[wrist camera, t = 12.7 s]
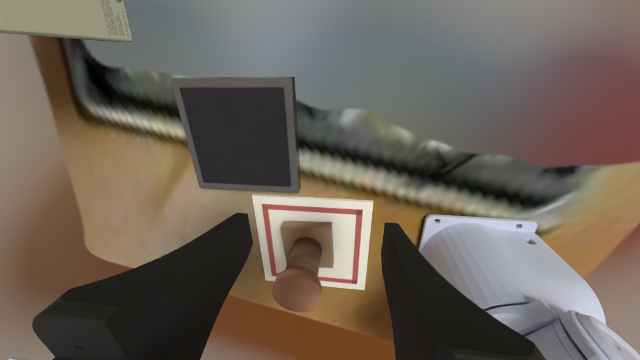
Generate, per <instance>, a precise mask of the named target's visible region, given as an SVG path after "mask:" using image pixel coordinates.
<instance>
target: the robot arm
mask: <svg viewBox="0 0 640 360" xmlns="http://www.w3.org/2000/svg"><path fill="white" fill-rule="evenodd" d="M436 219H439V220H438V221H435V220H436ZM518 224H519V225H518ZM516 225H518V226H516ZM536 228H537V224H536V223H535V222H534V221H532V220H519V219H502V218H485V217H468V216H451V215H434V214H430V215H427V216H426V218H425V222H424V226H423V231H422V235H421V240H420V245H419V249H417V248H416V247H415V246H414V244H413V243H412V242H411V240H410V239H409V238H408V236H407V235H406V234H405V232H404V231H403V230H402V228H401V227H400V225H399V224H398V223H385V227H384V235H383V242H382V250H381V261H382V273H383V278H384V283H385V288H386V294H387V299H388V304H389V309H390V314H391V319H392V326H393V335H394V345H395V356H396V360H640V355H639V354H638V353H637V352H636V351H635V350H634V349H633V348H632V347H631V346H629V345H628V344H627V343H626V342H625V341H624V340H623V339H621V338H620V337H619V336H618V335H617V334H616V333H614V332H613V331H612V330H611V329H610V328H608V327H607V326H606V321H605V316H604V312H603V310H602V307H601V305H600V303H599V300H598V298H597V297H596V295H595V293H594V292H593V290H592V289H591V288H590V286H589V285H588V284H587V283H586V282H585V281H584V280H583V279H582V278H581V277H580V276H579V275H578V274H577V273H576V272H575V271H574V270H573V269H572V268H571V267H570V266H569V265H568V264H567V263H566V262H565V261H564V260H563V259H561V258H560V257H559V256H558V255H557V254H556V253H555V252H554V251H553V250H552V249H551V248H550V247H549V246H548V245H547V244H546V243H545V242H544V241H543V240H542V239H541V238H540V237H538V236H537V235H536V234H535V231H536ZM252 245H253V241H252V236H251V230H250V224H249V219H248V214H245V213H236V214H234V215H232V216H231V217H229V218H228V219H226V220H224V221H223V222H221V223H220V224H218V225H217V226H215V227H214V228H212V229H211V230H209V231H207V232H206V233H204V234H203V235H201V236H199V237H198V238H196V239H194V240H192V241H191V242H189V243H187V244H186V245H184V246H182V247H180V248H178V249H176V250H174V251H172V252H170V253H168V254H166V255H164V256H162V257H160V258H158V259H155V260H153V261H151V262H148V263H146V264H144V265H141V266H139V267H137V268H134V269H131V270H129V271H126V272H123V273H121V274H118V275H115V276H112V277H109V278H106V279H103V280H100V281H96V282H93V283H90V284H86V285H83V286H79V287H76V288H72V289H69V290H68V291H67V292H65V293H64V294H63V295H62V296H61V297H59V298H58V299H57V300H56V301H54V302H53V303H52V304H51V305H49V306H48V307H47V308H46V309H44V310H43V311H42V312H41V313H39V314H38V315H37V316H36V317H35V318H34V319H33V324H32V327H33V330H34V332H35V333H36V334H37V336H38V337H39V339H40V340H41V341H42V342H43V343H44V344H45V345H46V346H47V348H48V349H49V350H50V351H51V352H52V353H53V355H54V356H55V358H54V359H53V360H200V359H201V356H202V353H203V350H204V348H205V345H206V343H207V340H208V338H209V335H210V333H211V330H212V328H213V325H214V323H215V321H216V318H217V316H218V314H219V311H220V309H221V307H222V305H223V303H224V301H225V299H226V297H227V295H228V293H229V291H230V290H231V288H232V286H233V284H234V282H235V281H236V279H237V277H238V275H239V273H240V272H241V270H242V268H243V266H244V264H245V262H246V260H247V258H248V255H249V253H250V250H251V247H252ZM9 360H25V359H19V358H11V359H9Z"/></svg>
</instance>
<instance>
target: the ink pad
mask: <svg viewBox="0 0 640 360" xmlns="http://www.w3.org/2000/svg"><path fill="white" fill-rule="evenodd" d="M171 82H172V86H173V89H174V93H175V97H176V101H177V104H178V108H179V112H180V116H181V119H182V123H183V127H184V131H185V134H186V138H187V142H188V146H189V149H190V153H191V157H192V161H193V164H194V168H195V172H196V176H197V179H198V183H199V187H200V188H214V189H233V190H252V191H271V192H291V193H299V191H300V189H301V182H300V165H299V147H298V129H297V111H296V93H295V77H206V78H203V77H201V78H171Z"/></svg>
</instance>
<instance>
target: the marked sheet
mask: <svg viewBox="0 0 640 360" xmlns="http://www.w3.org/2000/svg"><path fill="white" fill-rule="evenodd" d="M252 198H253V204H254V211H255V217H256V223H257V229H258V236H259V242H260V248H261V254H262V261H263V267H264V273H265V279H266V280H268V281H275V279H276V277H277V275H278V274H279V273H280V272H281V271H283V270H285V268H286V265H287V264H286V258H285V252H284V246H283V240H282V235H281V229H280V228H281V226H282V224H283V221H311V222H332V233H333V251H334V264H333V268H320V267H319V272H318V279H319V281H320V283H321V286H328V287H338V288H348V289H359V290H365V280H366V270H367V260H368V250H369V239H370V229H371V219H372V209H373V201H370V200H352V199H333V198H315V197H296V196H277V195H259V194H253V195H252Z"/></svg>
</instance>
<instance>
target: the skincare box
mask: <svg viewBox="0 0 640 360" xmlns="http://www.w3.org/2000/svg"><path fill="white" fill-rule="evenodd" d="M0 33H9V34H22V35H34V36H47V37H61V38H74V39H87V40H100V41H117V42H132V35H131V30H130V26H129V22H128V17H127V13H126V9H125V5H124V1H123V0H0Z"/></svg>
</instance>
